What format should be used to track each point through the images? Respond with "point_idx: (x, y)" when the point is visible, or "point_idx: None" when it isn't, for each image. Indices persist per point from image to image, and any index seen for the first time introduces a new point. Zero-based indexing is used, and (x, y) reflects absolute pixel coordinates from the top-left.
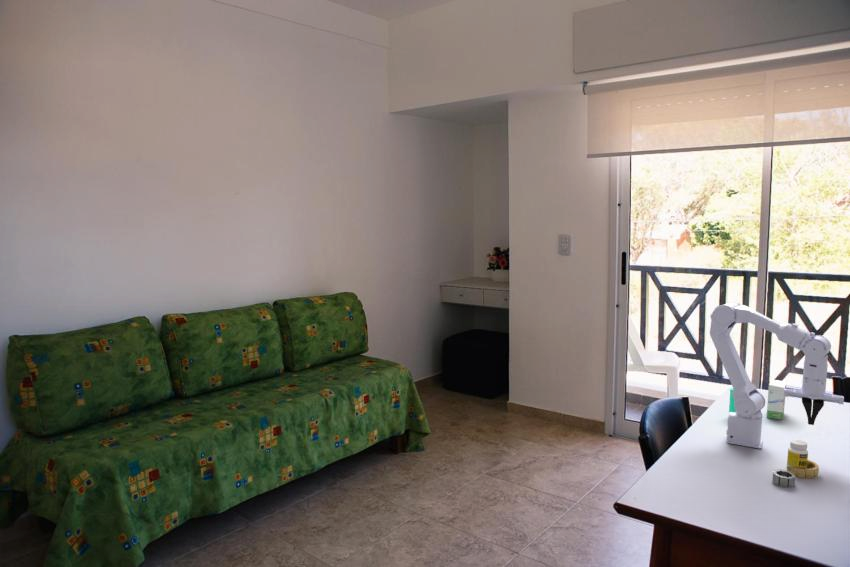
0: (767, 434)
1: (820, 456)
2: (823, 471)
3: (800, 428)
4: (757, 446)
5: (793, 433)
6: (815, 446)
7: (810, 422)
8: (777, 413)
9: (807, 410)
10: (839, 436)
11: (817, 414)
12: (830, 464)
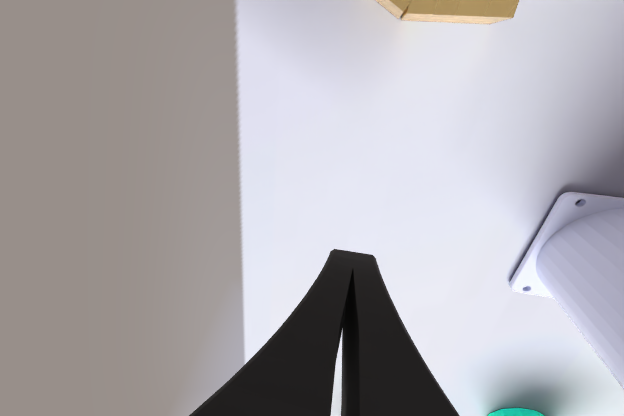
0: (459, 337)
1: (310, 199)
2: (315, 6)
3: (341, 383)
4: (578, 205)
5: None
6: None
7: (358, 263)
8: None
9: (423, 397)
10: (251, 354)
11: (278, 329)
12: (280, 126)
